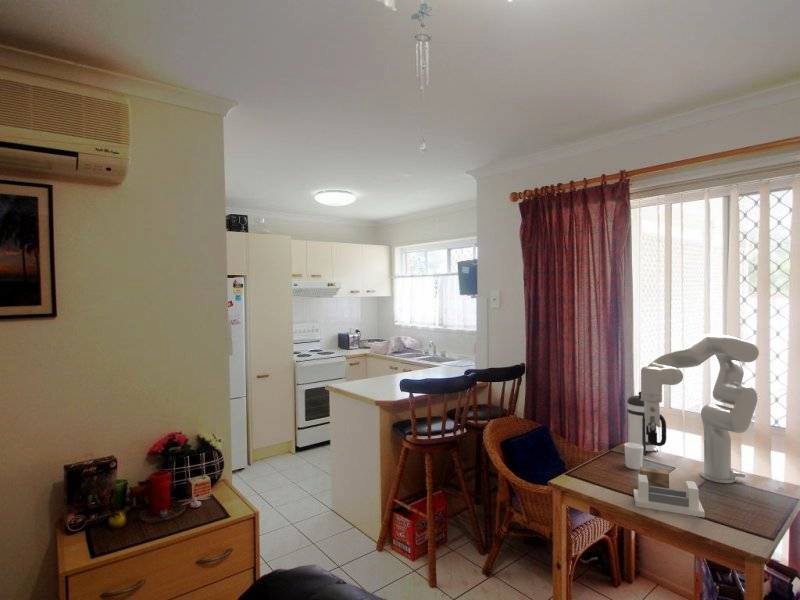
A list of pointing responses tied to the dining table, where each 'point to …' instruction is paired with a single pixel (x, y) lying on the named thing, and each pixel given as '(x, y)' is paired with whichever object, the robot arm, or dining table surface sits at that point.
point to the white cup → (633, 455)
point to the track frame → (669, 498)
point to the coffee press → (641, 425)
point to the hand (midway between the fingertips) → (651, 438)
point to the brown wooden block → (656, 477)
